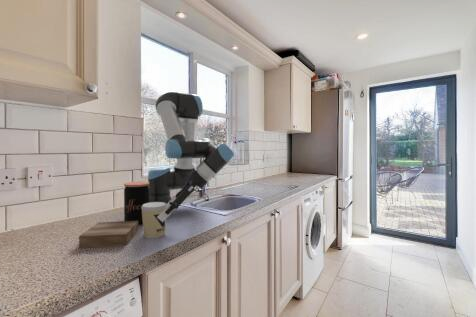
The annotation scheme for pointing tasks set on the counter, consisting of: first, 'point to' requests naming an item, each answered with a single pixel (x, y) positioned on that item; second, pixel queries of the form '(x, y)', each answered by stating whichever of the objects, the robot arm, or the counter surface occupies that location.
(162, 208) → the coffee cup
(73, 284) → the counter surface
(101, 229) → the walnut riser
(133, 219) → the coffee jar
